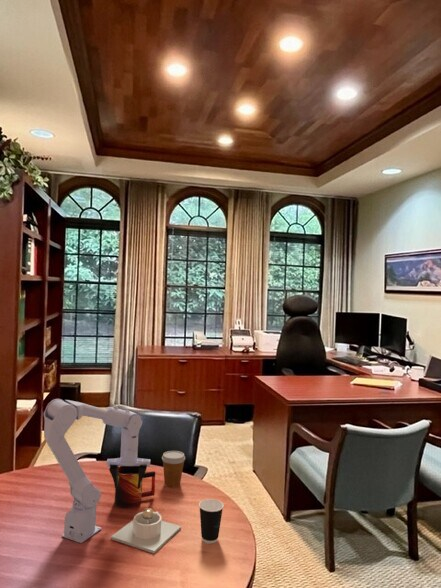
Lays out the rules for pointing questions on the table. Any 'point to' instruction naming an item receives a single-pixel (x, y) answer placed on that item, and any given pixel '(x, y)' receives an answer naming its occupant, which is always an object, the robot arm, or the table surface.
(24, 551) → the table surface
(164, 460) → the disposable coffee cup
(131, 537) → the white square-based fixture
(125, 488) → the mug
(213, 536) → the dixie cup
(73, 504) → the robot arm
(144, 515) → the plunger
